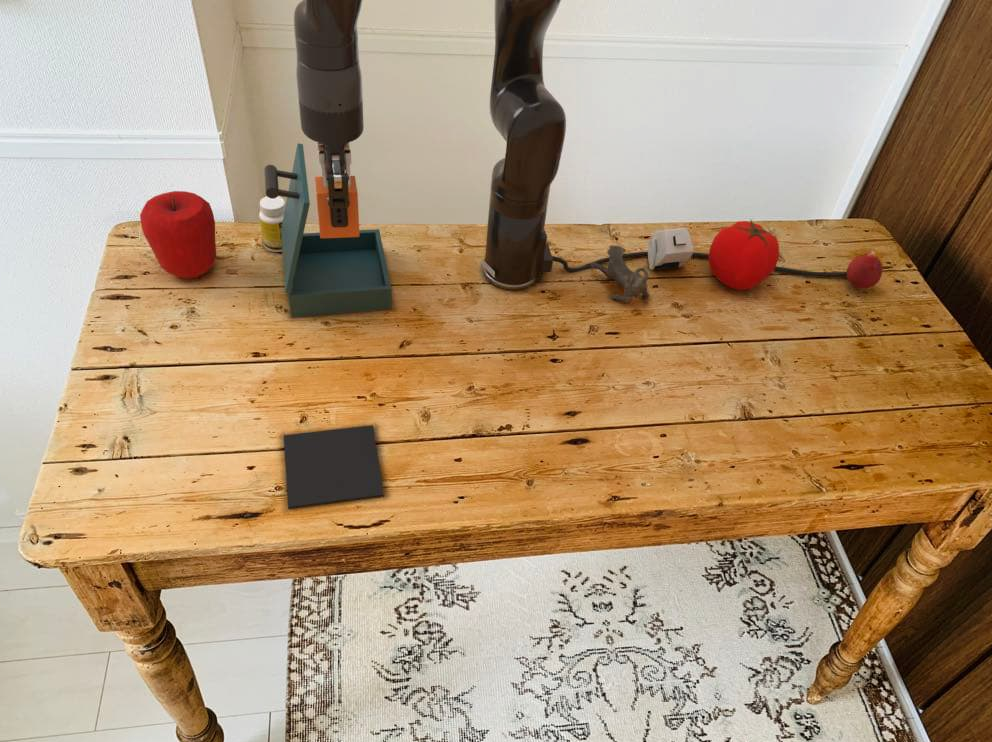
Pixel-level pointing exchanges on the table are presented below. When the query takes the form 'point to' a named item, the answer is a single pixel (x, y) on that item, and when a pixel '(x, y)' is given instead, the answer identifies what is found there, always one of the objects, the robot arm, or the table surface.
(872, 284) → the onion
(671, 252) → the light grey block
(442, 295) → the table surface
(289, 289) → the lunchbox lid
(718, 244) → the tomato
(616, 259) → the dog figurine
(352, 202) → the block
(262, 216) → the supplement bottle
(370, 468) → the mat
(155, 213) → the apple
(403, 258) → the table surface
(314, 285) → the box
